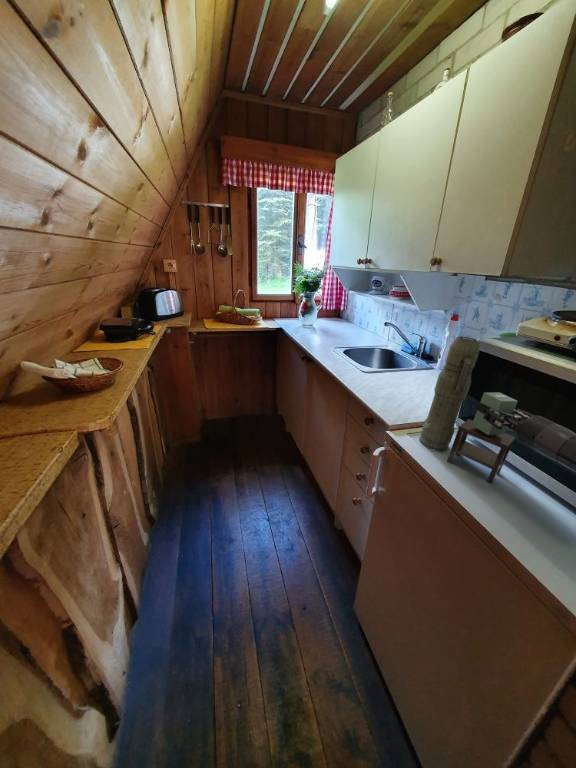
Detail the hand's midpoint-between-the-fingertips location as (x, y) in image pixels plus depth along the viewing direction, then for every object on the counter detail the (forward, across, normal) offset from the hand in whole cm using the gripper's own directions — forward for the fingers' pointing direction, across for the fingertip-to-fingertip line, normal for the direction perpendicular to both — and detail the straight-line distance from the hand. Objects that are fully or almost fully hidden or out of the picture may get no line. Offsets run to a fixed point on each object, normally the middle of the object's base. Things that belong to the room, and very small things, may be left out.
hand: (487, 406), depth 85 cm
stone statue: (+10, +3, +19) cm, 22 cm away
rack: (-2, 0, +19) cm, 19 cm away
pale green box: (-3, 0, +6) cm, 7 cm away
